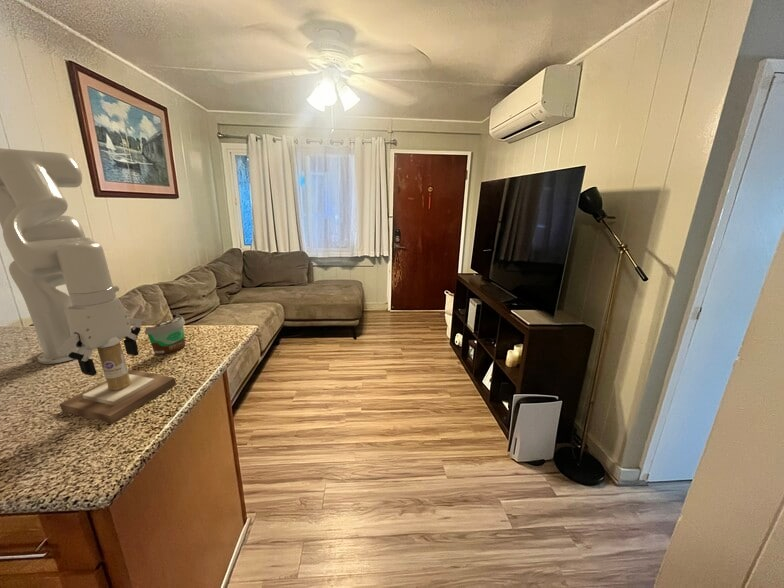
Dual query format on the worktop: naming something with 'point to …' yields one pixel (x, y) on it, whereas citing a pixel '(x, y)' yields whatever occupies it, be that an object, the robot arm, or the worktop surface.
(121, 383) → the sprinkles bottle
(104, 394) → the stacking base
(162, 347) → the food container
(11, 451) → the worktop surface
